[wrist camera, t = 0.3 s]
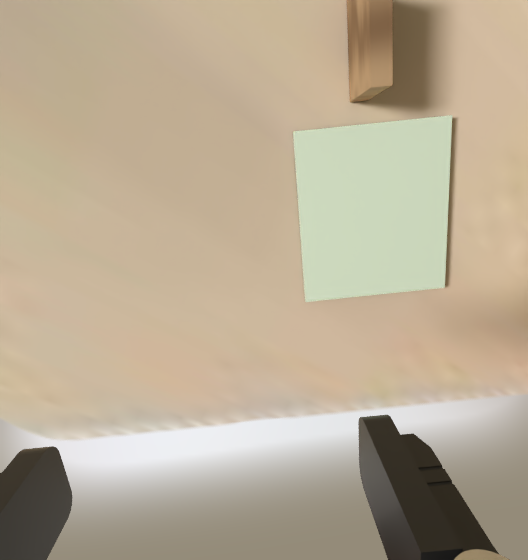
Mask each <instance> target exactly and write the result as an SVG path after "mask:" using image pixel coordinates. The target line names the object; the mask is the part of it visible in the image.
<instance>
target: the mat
mask: <svg viewBox="0 0 528 560" xmlns="http://www.w3.org/2000/svg"><path fill="white" fill-rule="evenodd" d="M451 133H452V115H449V116H439V117H430V118H420V119H410V120H401V121H391V122H381V123H372V124H362V125H352V126H343V127H333V128H323V129H314V130H304V131H294V132H293V138H294V152H295V166H296V180H297V194H298V208H299V222H300V236H301V250H302V264H303V278H304V292H305V301H306V302H310V301H320V300H330V299H339V298H349V297H359V296H368V295H378V294H388V293H397V292H407V291H417V290H426V289H436V288H445V272H446V249H447V226H448V203H449V179H450V156H451Z"/></svg>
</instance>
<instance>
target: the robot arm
mask: <svg viewBox="0 0 528 560" xmlns="http://www.w3.org/2000/svg"><path fill="white" fill-rule="evenodd" d="M359 463H360V464H359V465H360V474H361V479H362V484H363V488H364V491H365V494H366V497H367V499H368V502H369V505H370V508H371V511H372V514H373V517H374V520H375V523H376V526H377V529H378V531H379V534H380V537H381V540H382V543H383V546H384V549H385V552H386V555H387V558H388V560H509V559H508V558H505V557H503V556H501V555H500V554H499V553H498V552H497V551H496V549H495V548H494V547H493V545H492V544H491V542H490V540H489V539H488V537H487V536H486V534H485V533H484V531H483V529H482V528H481V526H480V525H479V523H478V521H477V520H476V518H475V517H474V515H473V514H472V512H471V511H470V509H469V507H468V506H467V504H466V503H465V501H464V500H463V498H462V496H461V495H460V493H459V491H458V490H457V488H456V487H455V485H453V484H452V480H451V479H450V477H449V476H448V474H447V473H446V471H445V469H443V468H442V465H441V463H440V461H439V460H438V458H437V457H436V455H435V454H434V452H433V451H432V449H431V448H430V447H429V446H428V445H427V444H426V443H424V442H423V441H422V440H421V439H419V438H418V437H417V436H416V435H414V434H405V435H400V434H399V432H398V430H397V428H396V426H395V424H394V423H393V421H392V419H391V417H390V416H389V415H380V416H370V417H360V418H359ZM71 506H72V491H71V488H70V485H69V482H68V478H67V475H66V472H65V469H64V465H63V462H62V459H61V456H60V453H59V451H58V449H57V448H56V447H43V448H33V449H24V450H22V451H20V452H19V453H18V454H17V455H16V457H15V458H14V459H13V460H12V461H11V463H10V464H9V465H8V466H7V468H6V469H5V470H4V471H3V472H2V473H0V560H46V559H47V558H48V556H49V554H50V552H51V550H52V548H53V546H54V544H55V542H56V540H57V538H58V536H59V534H60V533H61V531H62V529H63V527H64V525H65V523H66V521H67V519H68V517H69V514H70V511H71Z"/></svg>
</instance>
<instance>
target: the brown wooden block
mask: <svg viewBox="0 0 528 560" xmlns="http://www.w3.org/2000/svg"><path fill="white" fill-rule="evenodd" d="M347 21H348V54H349V88H350V102H355V101H365V100H369V99H371V98H372V97H374V96H376V95H377V94H379V93H381V92H382V91H384V90H386V89H387V88H389V87H391V86H392V85H393V0H347Z"/></svg>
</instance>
